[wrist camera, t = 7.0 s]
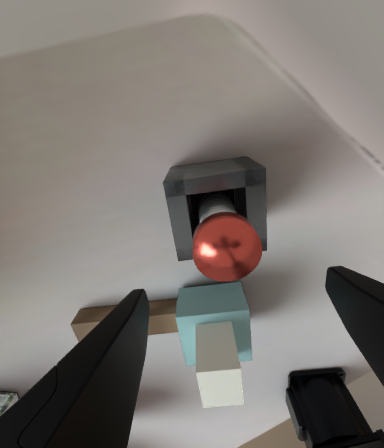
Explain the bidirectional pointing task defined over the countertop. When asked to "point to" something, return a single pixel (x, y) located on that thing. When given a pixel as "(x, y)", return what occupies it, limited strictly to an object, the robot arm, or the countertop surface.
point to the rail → (89, 318)
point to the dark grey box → (214, 181)
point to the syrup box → (7, 401)
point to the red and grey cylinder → (224, 240)
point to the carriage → (215, 339)
